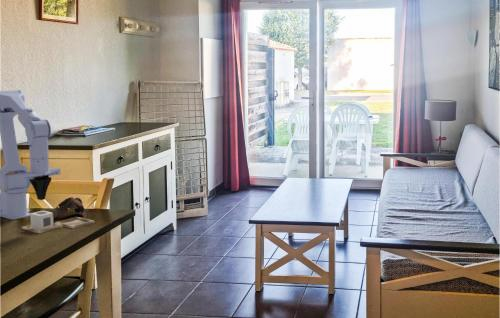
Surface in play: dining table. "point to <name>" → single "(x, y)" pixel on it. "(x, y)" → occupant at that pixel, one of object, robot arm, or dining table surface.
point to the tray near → (42, 230)
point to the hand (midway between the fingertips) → (41, 199)
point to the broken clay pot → (71, 206)
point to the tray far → (75, 222)
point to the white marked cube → (41, 220)
